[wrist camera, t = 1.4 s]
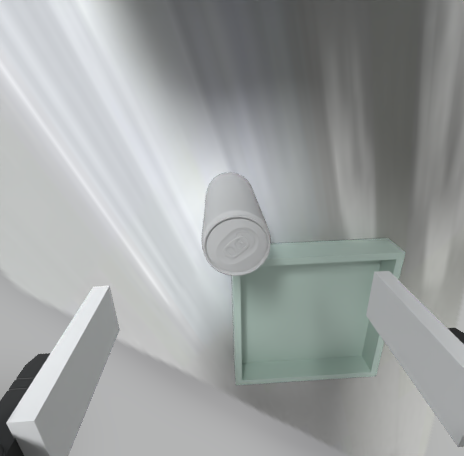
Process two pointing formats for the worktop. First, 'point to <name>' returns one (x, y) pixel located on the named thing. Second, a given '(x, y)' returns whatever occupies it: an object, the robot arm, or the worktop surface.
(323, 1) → the worktop surface
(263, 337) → the tray
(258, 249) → the beverage can
